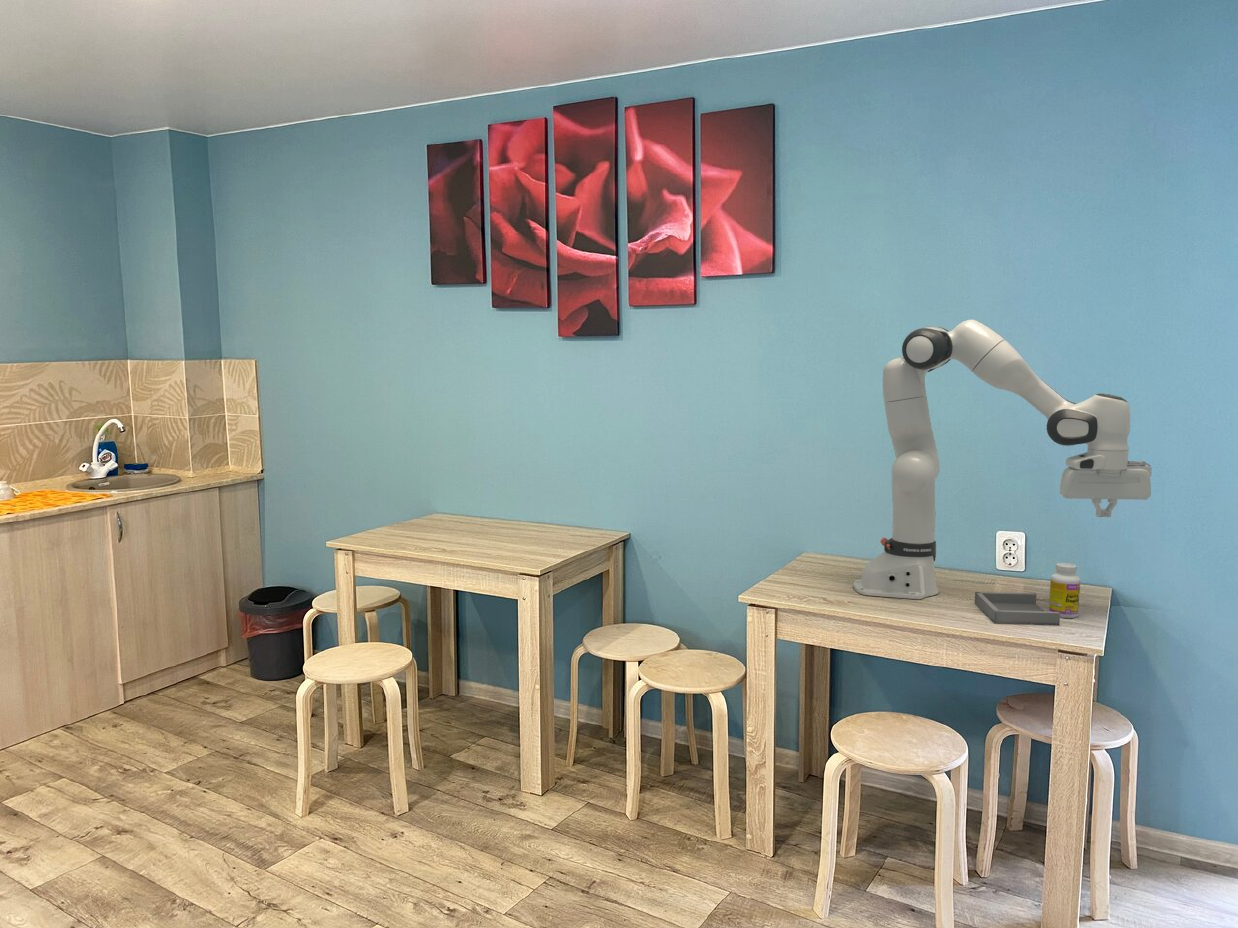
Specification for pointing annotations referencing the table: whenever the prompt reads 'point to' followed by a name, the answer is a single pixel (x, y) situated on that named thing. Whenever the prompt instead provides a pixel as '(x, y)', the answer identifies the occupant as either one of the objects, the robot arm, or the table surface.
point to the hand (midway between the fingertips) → (1103, 516)
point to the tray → (1014, 608)
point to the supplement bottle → (1065, 591)
